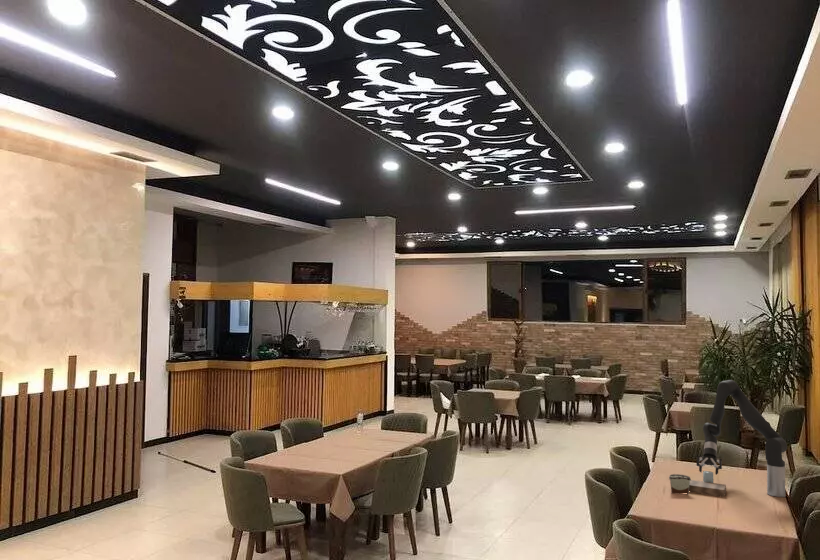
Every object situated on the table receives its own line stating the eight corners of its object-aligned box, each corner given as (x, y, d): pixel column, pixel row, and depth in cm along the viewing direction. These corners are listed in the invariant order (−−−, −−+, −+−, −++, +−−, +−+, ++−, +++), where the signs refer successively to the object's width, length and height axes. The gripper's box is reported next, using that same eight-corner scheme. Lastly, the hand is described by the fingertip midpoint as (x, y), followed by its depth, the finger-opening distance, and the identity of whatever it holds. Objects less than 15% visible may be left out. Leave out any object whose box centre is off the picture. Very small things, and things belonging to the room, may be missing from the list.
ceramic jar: (713, 486, 391) (713, 471, 392) (712, 488, 386) (712, 473, 387) (703, 485, 394) (703, 470, 394) (702, 487, 389) (702, 472, 390)
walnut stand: (725, 491, 381) (725, 484, 381) (724, 497, 369) (724, 490, 369) (689, 486, 391) (689, 479, 391) (686, 491, 379) (686, 484, 379)
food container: (687, 491, 379) (687, 474, 379) (691, 494, 373) (691, 477, 373) (666, 490, 380) (666, 473, 380) (669, 493, 374) (669, 476, 374)
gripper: (697, 445, 405) (695, 467, 394) (722, 448, 398) (721, 471, 387) (698, 452, 409) (696, 474, 399) (723, 455, 402) (721, 478, 391)
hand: (708, 472), depth 393 cm, fingers open, 8 cm apart
